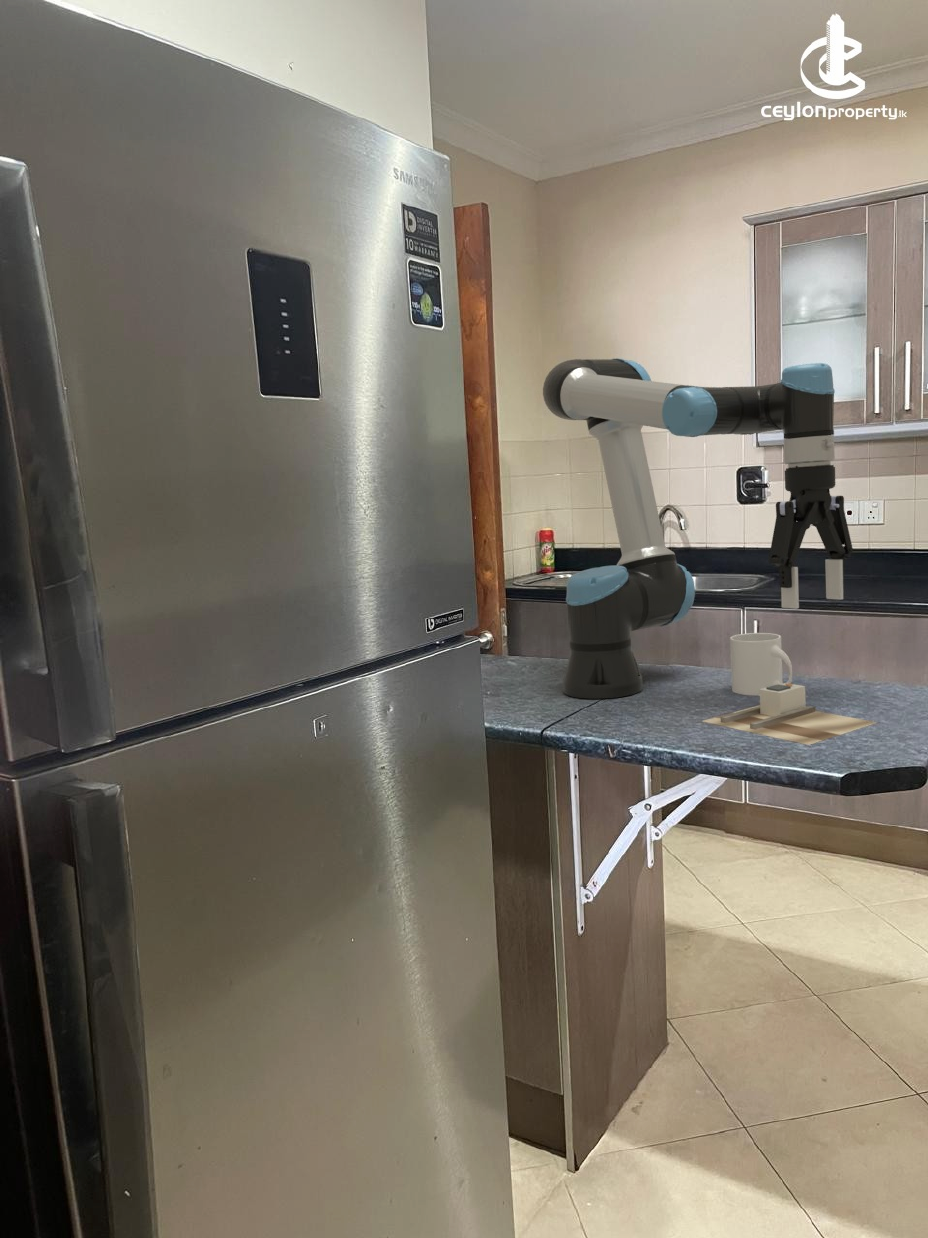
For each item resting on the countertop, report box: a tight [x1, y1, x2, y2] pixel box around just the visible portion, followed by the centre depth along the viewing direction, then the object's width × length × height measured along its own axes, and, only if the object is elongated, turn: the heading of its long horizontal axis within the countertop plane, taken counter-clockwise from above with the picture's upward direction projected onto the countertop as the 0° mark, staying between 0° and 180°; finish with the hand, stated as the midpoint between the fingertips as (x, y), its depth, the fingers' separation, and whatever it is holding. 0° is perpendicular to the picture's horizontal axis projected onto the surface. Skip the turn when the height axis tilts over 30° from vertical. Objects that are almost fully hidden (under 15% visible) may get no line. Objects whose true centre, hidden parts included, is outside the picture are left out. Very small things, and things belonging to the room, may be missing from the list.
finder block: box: [759, 682, 807, 716], centre depth 149 cm, size 4×6×4 cm, turn 122°
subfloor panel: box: [701, 704, 879, 746], centre depth 143 cm, size 20×16×2 cm
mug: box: [729, 632, 793, 696], centre depth 164 cm, size 9×12×11 cm
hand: (812, 603), depth 151 cm, fingers open, 10 cm apart
